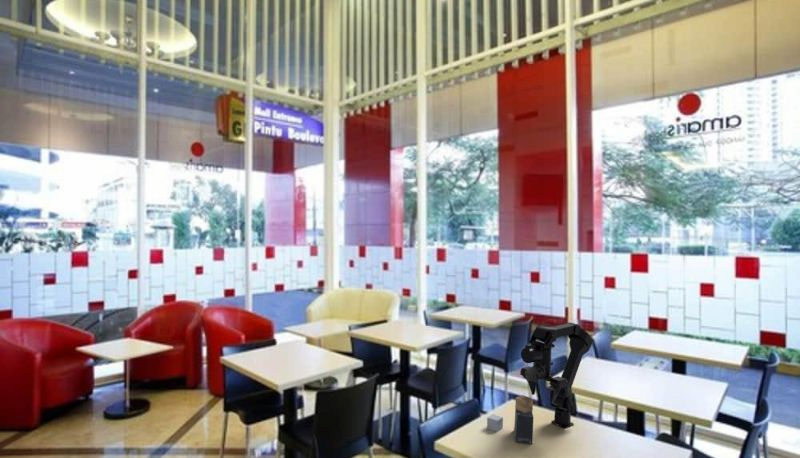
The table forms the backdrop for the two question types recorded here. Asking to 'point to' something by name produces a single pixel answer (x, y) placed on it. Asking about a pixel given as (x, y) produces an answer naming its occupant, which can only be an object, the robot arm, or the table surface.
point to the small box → (523, 427)
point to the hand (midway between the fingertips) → (542, 398)
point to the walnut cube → (524, 404)
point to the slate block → (495, 423)
